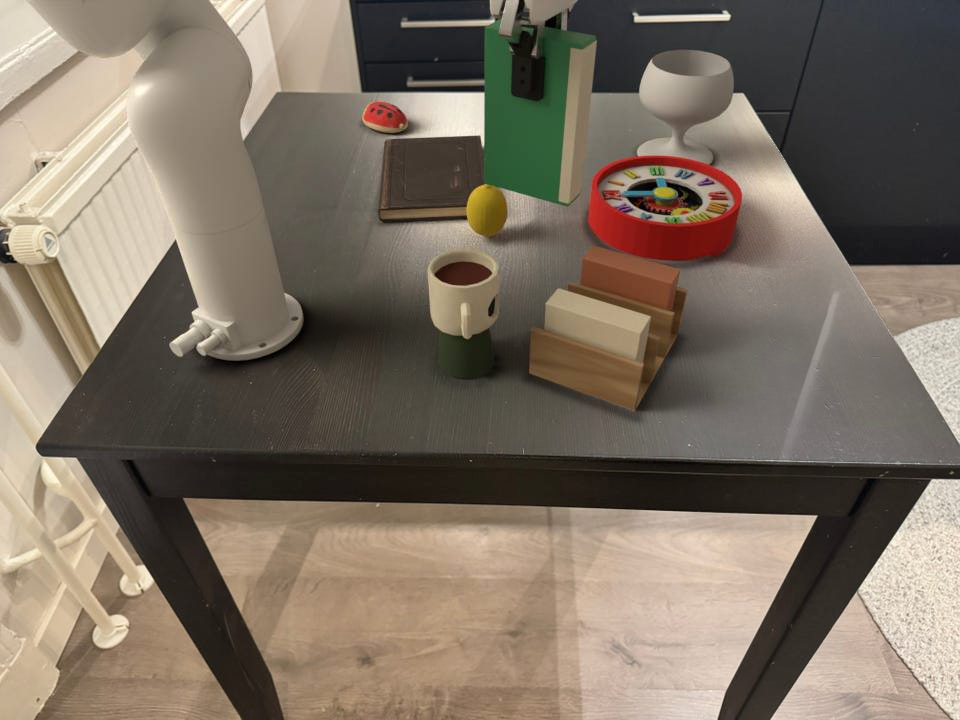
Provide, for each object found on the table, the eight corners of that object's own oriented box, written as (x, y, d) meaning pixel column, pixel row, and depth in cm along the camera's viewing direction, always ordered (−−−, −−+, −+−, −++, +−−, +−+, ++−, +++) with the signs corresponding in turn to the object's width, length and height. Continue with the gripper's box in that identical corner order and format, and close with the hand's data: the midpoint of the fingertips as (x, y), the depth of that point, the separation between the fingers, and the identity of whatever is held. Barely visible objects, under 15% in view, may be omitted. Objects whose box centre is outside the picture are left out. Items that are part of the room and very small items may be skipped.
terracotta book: (658, 350, 81) (671, 283, 75) (576, 323, 84) (582, 258, 78) (667, 335, 83) (680, 269, 77) (586, 309, 86) (592, 245, 80)
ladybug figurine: (381, 113, 133) (379, 93, 131) (419, 127, 128) (417, 107, 126) (353, 124, 130) (350, 105, 127) (391, 140, 125) (389, 120, 122)
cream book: (629, 401, 75) (640, 333, 69) (541, 369, 78) (545, 303, 72) (639, 383, 77) (651, 316, 71) (553, 354, 80) (558, 287, 74)
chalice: (636, 134, 125) (648, 44, 115) (719, 143, 122) (739, 50, 112) (626, 170, 115) (638, 75, 105) (717, 181, 112) (738, 83, 102)
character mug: (503, 397, 76) (504, 297, 68) (435, 401, 76) (428, 301, 68) (494, 332, 85) (494, 236, 76) (433, 336, 84) (426, 239, 76)
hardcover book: (480, 148, 122) (480, 135, 120) (490, 217, 104) (490, 203, 103) (385, 152, 121) (383, 139, 120) (379, 222, 104) (377, 208, 102)
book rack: (633, 416, 74) (642, 366, 70) (528, 378, 79) (530, 329, 74) (677, 337, 83) (688, 289, 79) (581, 307, 88) (586, 260, 84)
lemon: (503, 249, 98) (503, 196, 93) (463, 245, 99) (461, 192, 94) (510, 228, 102) (511, 176, 97) (471, 224, 103) (470, 173, 98)
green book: (568, 207, 74) (583, 45, 64) (483, 183, 78) (484, 27, 67) (581, 195, 76) (597, 35, 66) (497, 172, 80) (500, 18, 69)
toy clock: (759, 226, 90) (598, 225, 91) (748, 265, 94) (594, 264, 95) (724, 155, 105) (586, 155, 106) (716, 191, 109) (582, 191, 110)
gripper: (551, -151, 65) (539, 59, 77) (454, -128, 54) (458, 112, 66) (630, -146, 62) (605, 72, 74) (543, -119, 51) (531, 130, 63)
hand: (536, 89), depth 70 cm, fingers closed on green book, 3 cm apart
